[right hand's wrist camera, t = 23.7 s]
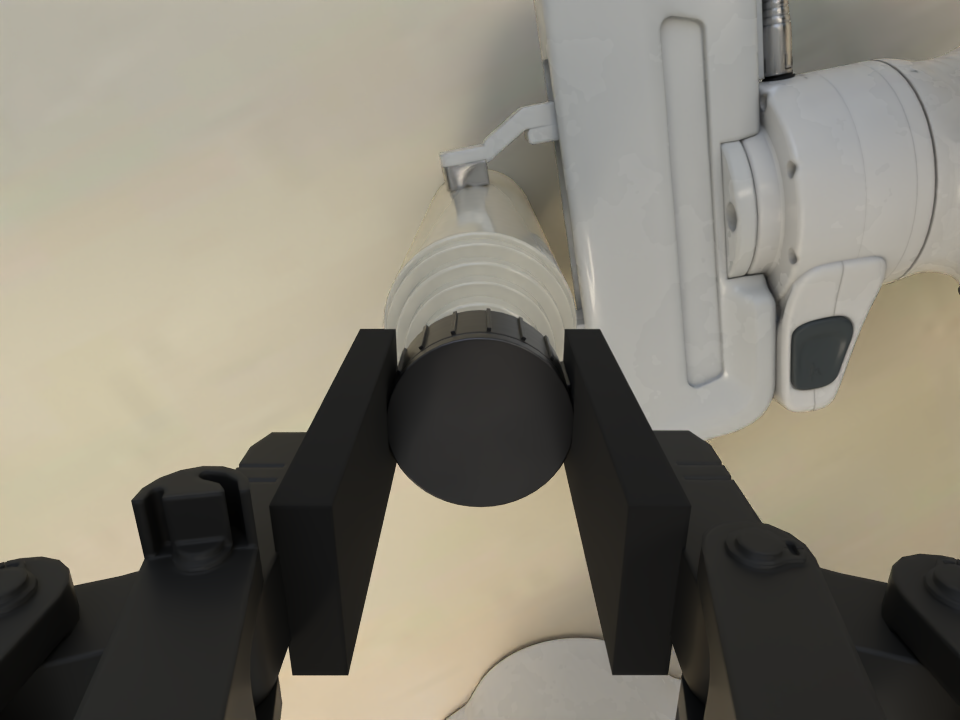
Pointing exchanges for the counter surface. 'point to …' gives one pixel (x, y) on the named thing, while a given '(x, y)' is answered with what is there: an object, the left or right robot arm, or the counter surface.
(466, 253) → the bottle
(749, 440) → the counter surface
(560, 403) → the cap
